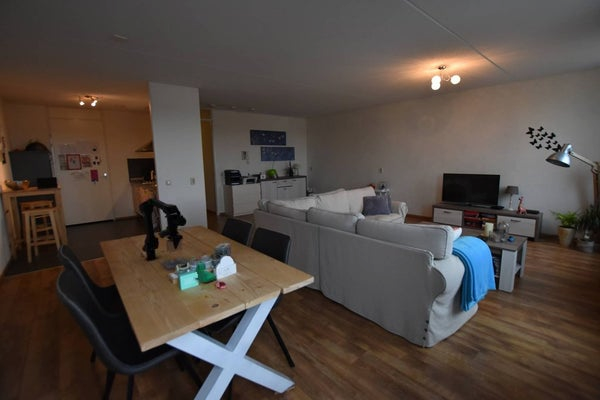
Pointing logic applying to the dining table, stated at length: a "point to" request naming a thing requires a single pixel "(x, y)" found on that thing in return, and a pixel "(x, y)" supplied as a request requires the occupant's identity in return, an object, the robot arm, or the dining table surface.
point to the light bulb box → (223, 249)
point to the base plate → (173, 263)
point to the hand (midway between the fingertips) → (174, 248)
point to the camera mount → (204, 273)
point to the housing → (171, 246)
